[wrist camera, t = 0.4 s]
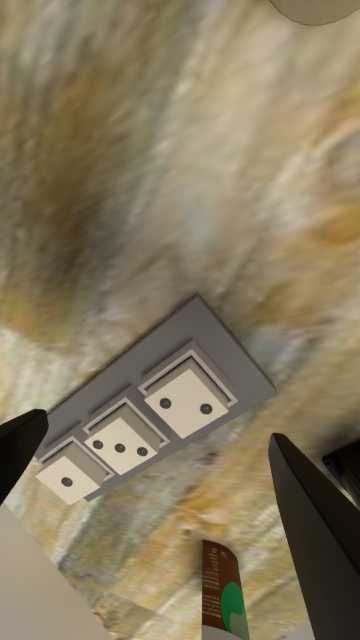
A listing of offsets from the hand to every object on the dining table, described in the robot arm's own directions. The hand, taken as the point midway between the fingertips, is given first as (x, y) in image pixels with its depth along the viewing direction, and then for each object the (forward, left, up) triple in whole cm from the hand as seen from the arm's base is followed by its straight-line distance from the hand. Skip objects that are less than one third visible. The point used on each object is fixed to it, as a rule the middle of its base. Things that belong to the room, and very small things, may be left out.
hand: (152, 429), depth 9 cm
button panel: (-5, +11, -14) cm, 18 cm away
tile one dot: (-5, +19, -11) cm, 23 cm away
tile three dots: (-5, +11, -11) cm, 16 cm away
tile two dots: (-5, +3, -11) cm, 12 cm away
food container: (-32, +19, -14) cm, 40 cm away
